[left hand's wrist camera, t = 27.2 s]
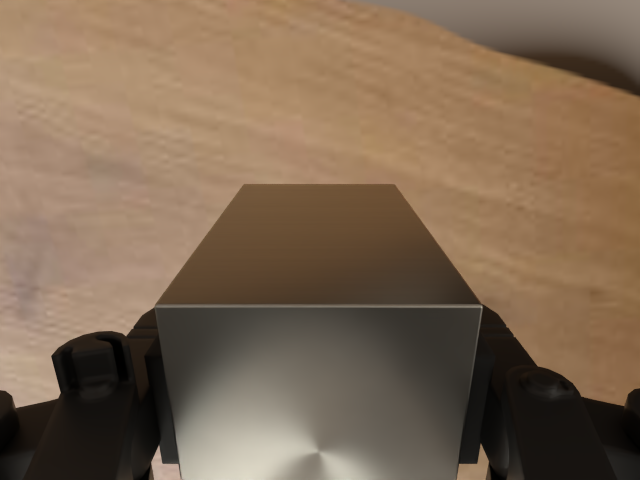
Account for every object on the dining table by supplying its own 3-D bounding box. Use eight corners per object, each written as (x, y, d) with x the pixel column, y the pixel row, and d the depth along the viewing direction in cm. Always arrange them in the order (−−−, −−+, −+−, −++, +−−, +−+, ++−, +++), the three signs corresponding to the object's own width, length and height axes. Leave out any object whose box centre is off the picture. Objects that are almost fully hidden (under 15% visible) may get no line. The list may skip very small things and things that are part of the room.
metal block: (395, 184, 14) (484, 304, 7) (385, 335, 17) (444, 563, 9) (243, 184, 14) (152, 304, 7) (252, 335, 17) (193, 563, 9)
